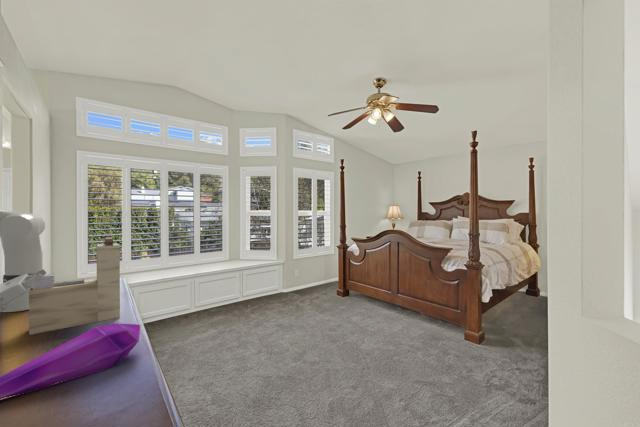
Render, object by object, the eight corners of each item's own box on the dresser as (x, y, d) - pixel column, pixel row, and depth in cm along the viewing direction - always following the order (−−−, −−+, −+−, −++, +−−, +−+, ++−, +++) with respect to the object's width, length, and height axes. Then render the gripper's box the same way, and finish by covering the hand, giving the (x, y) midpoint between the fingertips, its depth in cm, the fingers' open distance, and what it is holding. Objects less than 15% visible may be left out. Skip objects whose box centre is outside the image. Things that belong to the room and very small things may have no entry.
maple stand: (31, 327, 98) (31, 241, 98) (117, 311, 114) (117, 237, 114) (29, 335, 92) (28, 242, 92) (120, 317, 108) (119, 238, 107)
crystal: (-14, 387, 55) (153, 320, 78) (-17, 362, 64) (133, 308, 88) (-4, 428, 56) (158, 349, 79) (-8, 397, 65) (138, 335, 88)
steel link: (32, 289, 94) (32, 277, 94) (34, 287, 97) (34, 275, 97) (84, 283, 102) (84, 272, 102) (84, 281, 106) (84, 270, 105)
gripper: (-27, 301, 80) (33, 270, 88) (-10, 286, 96) (40, 261, 104) (-10, 317, 83) (47, 286, 90) (4, 301, 98) (52, 275, 106)
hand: (43, 273), depth 97 cm, fingers open, 8 cm apart
